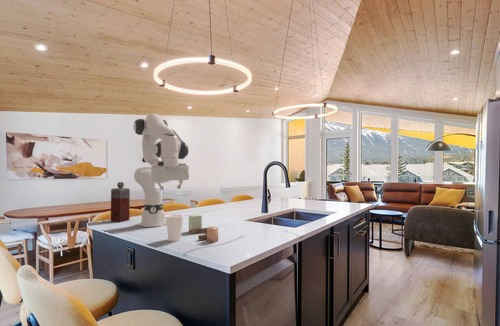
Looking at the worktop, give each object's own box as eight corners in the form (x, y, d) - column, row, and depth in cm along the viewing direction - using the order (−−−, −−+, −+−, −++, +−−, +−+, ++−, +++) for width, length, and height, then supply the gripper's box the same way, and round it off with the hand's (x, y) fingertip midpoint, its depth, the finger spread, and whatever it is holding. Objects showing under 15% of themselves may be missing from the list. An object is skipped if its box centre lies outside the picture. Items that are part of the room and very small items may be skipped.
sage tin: (188, 231, 170) (188, 215, 171) (197, 230, 174) (198, 214, 174) (191, 233, 165) (192, 216, 165) (201, 232, 168) (201, 215, 169)
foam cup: (178, 242, 145) (178, 217, 146) (162, 241, 147) (162, 216, 147) (186, 238, 155) (186, 214, 155) (170, 237, 157) (171, 213, 157)
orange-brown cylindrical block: (206, 239, 151) (206, 226, 151) (217, 239, 153) (217, 226, 153) (207, 242, 145) (207, 229, 146) (218, 242, 147) (219, 228, 147)
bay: (199, 240, 150) (199, 235, 150) (189, 234, 164) (189, 229, 164) (218, 237, 155) (218, 233, 155) (206, 231, 169) (207, 227, 169)
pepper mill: (117, 218, 209) (118, 181, 209) (129, 219, 205) (130, 181, 205) (108, 221, 201) (108, 182, 201) (120, 222, 197) (120, 182, 197)
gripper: (186, 163, 158) (186, 188, 157) (149, 163, 147) (149, 190, 146) (190, 163, 153) (191, 188, 152) (152, 163, 141) (152, 190, 141)
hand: (170, 189), depth 149 cm, fingers open, 8 cm apart
